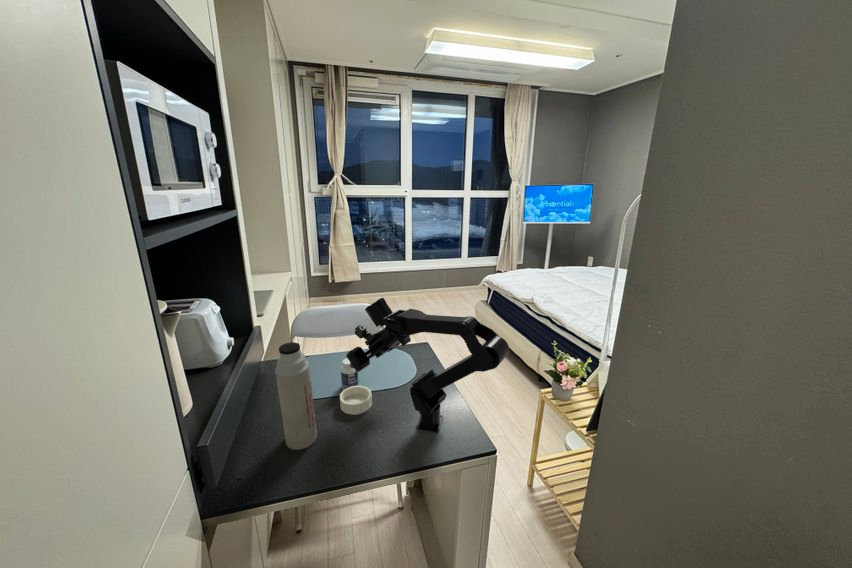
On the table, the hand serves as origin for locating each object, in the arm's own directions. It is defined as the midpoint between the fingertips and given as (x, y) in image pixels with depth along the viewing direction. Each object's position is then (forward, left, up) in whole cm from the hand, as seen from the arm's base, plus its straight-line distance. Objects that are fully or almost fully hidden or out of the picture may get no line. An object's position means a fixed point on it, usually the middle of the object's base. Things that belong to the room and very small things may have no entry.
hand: (361, 360), depth 110 cm
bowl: (-6, 0, -12) cm, 13 cm away
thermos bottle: (-23, +8, -12) cm, 27 cm away
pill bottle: (+2, +6, -12) cm, 14 cm away
